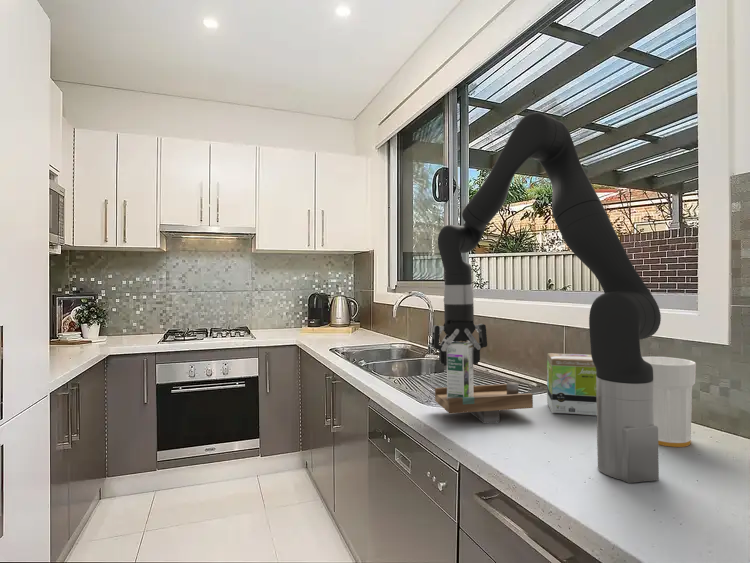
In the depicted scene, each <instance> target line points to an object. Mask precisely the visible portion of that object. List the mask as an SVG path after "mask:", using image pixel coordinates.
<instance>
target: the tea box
mask: <svg viewBox="0 0 750 563" xmlns="http://www.w3.org/2000/svg"><path fill="white" fill-rule="evenodd" d="M546 359H547V360H546V364H547V365H546V370H547V373H546V390H547V391H546V394H547V395H546V404H547V406H548V407H549V409H550V411H551V413H552V414H569V415H570V414H571V415H582V416H584V415H585V416H596V417H597V396H596V392H597V390H596V367H595V365H594V363H593V360H592V356H591V354H584V353H583V354H581V353H555V352H554V353H551V352H549V353H547V357H546Z"/></svg>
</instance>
